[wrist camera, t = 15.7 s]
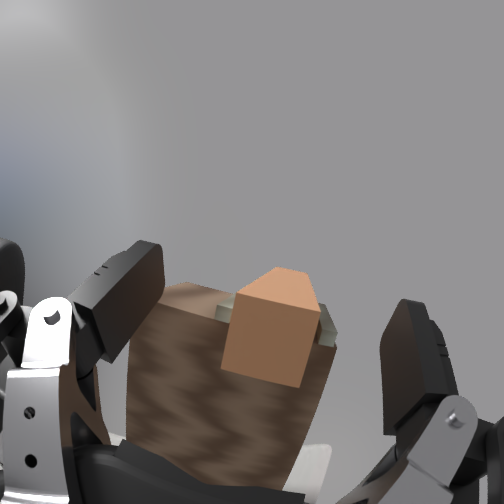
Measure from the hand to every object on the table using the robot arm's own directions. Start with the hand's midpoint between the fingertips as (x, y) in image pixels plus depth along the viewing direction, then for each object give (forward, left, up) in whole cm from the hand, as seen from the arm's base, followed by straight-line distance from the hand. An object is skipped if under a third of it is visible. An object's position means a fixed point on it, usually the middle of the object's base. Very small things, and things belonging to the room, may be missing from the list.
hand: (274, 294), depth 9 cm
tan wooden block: (0, +16, -5) cm, 17 cm away
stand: (-4, +18, -37) cm, 41 cm away
